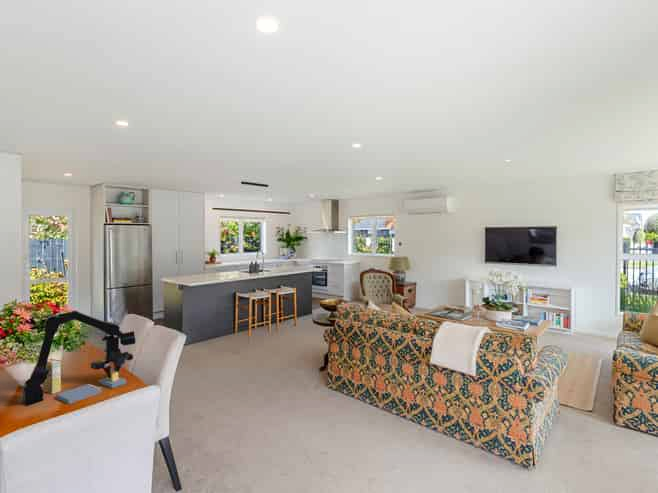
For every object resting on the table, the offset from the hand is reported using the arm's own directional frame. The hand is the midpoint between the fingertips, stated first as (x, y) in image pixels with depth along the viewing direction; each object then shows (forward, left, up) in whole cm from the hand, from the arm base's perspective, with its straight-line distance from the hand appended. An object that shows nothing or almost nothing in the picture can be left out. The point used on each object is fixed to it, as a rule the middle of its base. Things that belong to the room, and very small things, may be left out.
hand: (112, 377), depth 182 cm
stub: (0, 0, -3) cm, 3 cm away
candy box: (-20, +18, -4) cm, 27 cm away
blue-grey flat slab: (-16, 0, -4) cm, 16 cm away
